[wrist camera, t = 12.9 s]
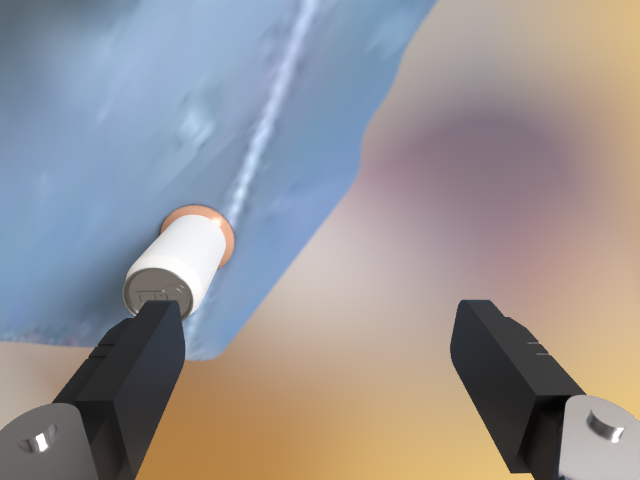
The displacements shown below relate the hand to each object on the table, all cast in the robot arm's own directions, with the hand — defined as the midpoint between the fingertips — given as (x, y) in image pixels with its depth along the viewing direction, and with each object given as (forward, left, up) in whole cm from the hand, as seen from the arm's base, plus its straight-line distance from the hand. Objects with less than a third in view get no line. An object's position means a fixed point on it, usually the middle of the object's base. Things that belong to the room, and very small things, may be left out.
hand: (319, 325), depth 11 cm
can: (+10, -12, -30) cm, 33 cm away
